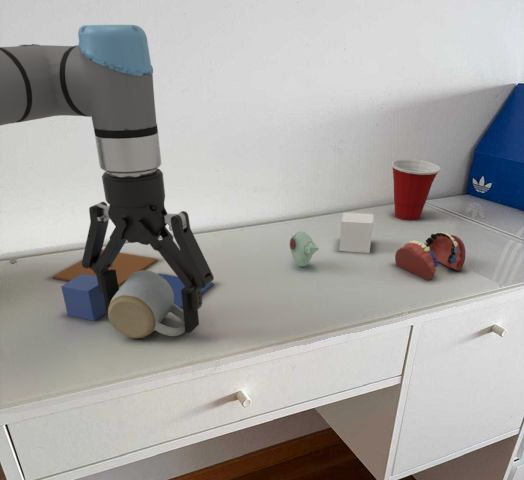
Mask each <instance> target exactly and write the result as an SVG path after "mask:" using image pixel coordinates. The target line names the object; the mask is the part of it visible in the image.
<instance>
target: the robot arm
mask: <svg viewBox="0 0 524 480" xmlns="http://www.w3.org/2000/svg"><path fill="white" fill-rule="evenodd" d="M77 36H78V45H51V44H49V45H45V44H44V45H43V44H35V43H32V44H19V45H16V46H15V45H14V46H0V126H5V125H10V124H16V123H24V122H29V121H35V120H41V119H46V118H51V117H59V116H68V117H69V116H72V117H87V118H91V121H92V127H93V132H94V138H95V144H96V151H97V158H98V164H99V168H100V169H101V170H102V171H104V172H103V173H102V176H101V180H102V186H103V192H104V193H103V194H104V198H105V201H101V202H98V203H96V204H94V205H91V206H89V208H88V211H89V220H90V223H89V227H88V231H87V236H86V241H85V245H84V250H83V256H82V260H81V261H82V266H83V267H84V268H86V269H87V268H90V269H92V270H93V271H94V273H95V274H96V276H97V281H98V286H99V290H100V292H101V293H103V295H104V300H105V306H106V311H107V312H106V315H107V317H108V307H109V305H110V302H111V300H112V298H113V297H114V295H115V294H116V293H117V292H118V290H119V289H120V286H118V281H117V275H116V270H114V269H111V270H109V268H110V267H112V266H113V265H112V263H113V262H114V260H115V258H116V257H117V255H118V253H121V251H122V249H123V247H124V246H125V243H126V242H127V243H131V244H135V243H138V244H141V245H144V246H145V245H146V246H148V245H149V246H150V247H151V248H152V249H153V250H154V251H157V252H158V253H159V254H160V256H161V257H162V259H163V260H164V261H165V262H166V263H167V265H168V266H169V267H170V268H171V270H172V271H173V272H174V274H175V276H177V277H178V278H179V279H180V280H181V282H182V283H183V284H184V285H185V287H184V288H183V289H182V290H181V294H182V304H183V309H182V310H183V314H184V324H185V332H184V333H187V334H191V333H192V332H193V331H194V330H195V329H196V328H197V327H198V326H200V319H199V309H201V307H202V306H203V298H202V297H203V294H201V288H204V287H206V286H207V285H208V284H209V283H210V282H212V283H213V281H214V278H215V277H214V275H213V272H212V271H211V268H210V266H209V264H208V262H207V260H206V258H205V256H204V254H203V251H202V249H201V248H200V245H199V243H198V241H197V239H196V238H195V237H196V236H195V235H194V233H193V231H192V229H191V224H190V218H189V214H188V212H187V211H186V210H182V211H179V212H177V213H168V211H167V210H166V207H165V200H166V189H165V181H164V172H163V171H162V170H161V169H160V167H161V165H162V157H161V156H162V155H161V146H160V138H159V137H160V136H159V135H160V134H159V130H158V123H157V115H156V103H155V91H154V90H155V89H154V75H153V74H154V68H153V66H152V63H151V61H152V60H151V56H150V49H149V42H148V36H147V33H146V32H145V30H144V29H143V28H142V27H140V25H137V24H87V25H85V24H84V25H82V26H80V27H79V29H78V30H77ZM109 221H111V223H113V225H114V226H115V227H114V229H113V230H112V232H111V234H110V236H109V240H108V241H107V244H106V245H105V247H104V243H105V238H106V235H107V231H108V227H109ZM167 225H168V226H169V227H168V228H167ZM171 232H172V233H171ZM172 234H173V235H172ZM160 237H161V239H159V238H160ZM174 240H175V241H174ZM103 247H104V249H103ZM102 250H103V252H102ZM101 252H102V254H101ZM111 265H112V266H111ZM184 324H183V325H184Z"/></svg>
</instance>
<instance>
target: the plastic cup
mask: <svg viewBox="0 0 524 480" xmlns="http://www.w3.org/2000/svg"><path fill="white" fill-rule="evenodd" d="M390 166H391V167H392V175H393V176H392V178H393V202H394V217H396V218H397V219H400V220H403V221H415V220H419V219H420V218H421V216H422V213H423V210H424V207H425V204H426V203H427V199H428V196H429V193H430V190H431V188H432V185H433V182H434V181H435V178H436V176H437V175H438V174H439V172H441V166H439V165H437V164H436V163H433V162H431V161H426V160H421V159H413V158H401V159H395V160H393V161H391V165H390Z"/></svg>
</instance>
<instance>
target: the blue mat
mask: <svg viewBox="0 0 524 480" xmlns="http://www.w3.org/2000/svg"><path fill="white" fill-rule="evenodd" d="M157 274H158V275H160V276H162V277H163V278H164V279H165V280H166V281H167V282H168V283H169V285H170V286H171V288H172V290H173V293H174V304H175V305H177V306H178V307H180V308H181V309H182V310H183V304H182V294H181V290H182V289H183V288H184V287H185V285H184V284H183V283H182V282H181V280H180V279H179V278H178V276H177V275H170V274H164V273H157ZM214 283H215V282H213V281H212V282H210V283H209V284H208V285H207V286H206V287H204V288H201V294H202V295H203V294H205V293H206V292H207V291H208V290H209V289H211V288H212V287H213V286H214V285H215V284H214Z"/></svg>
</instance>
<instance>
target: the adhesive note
mask: <svg viewBox="0 0 524 480" xmlns="http://www.w3.org/2000/svg"><path fill="white" fill-rule="evenodd" d="M340 223H341V224H340V233H339V234H340V235H339V236H340V237H339V247H338V251H339V252H346V253H347V252H349V253H363V254H364V253H365V254H370V253H371V243H372V235H373V228H374V227H373V226H374V213H361V212H359V213H358V212H343V214H342V218H341V221H340Z"/></svg>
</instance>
